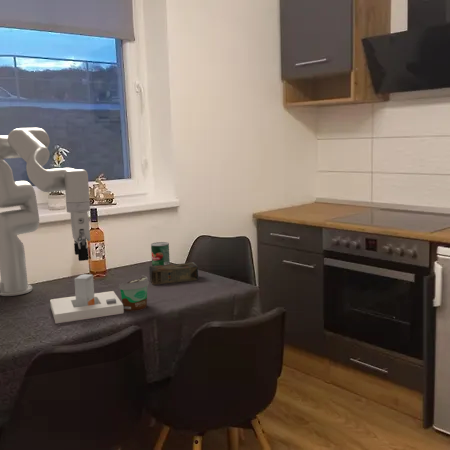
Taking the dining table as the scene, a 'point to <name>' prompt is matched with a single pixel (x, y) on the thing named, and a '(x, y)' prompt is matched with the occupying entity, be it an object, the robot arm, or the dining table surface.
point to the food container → (134, 294)
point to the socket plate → (86, 307)
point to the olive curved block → (173, 273)
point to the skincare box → (84, 290)
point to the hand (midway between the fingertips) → (81, 257)
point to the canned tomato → (160, 253)
